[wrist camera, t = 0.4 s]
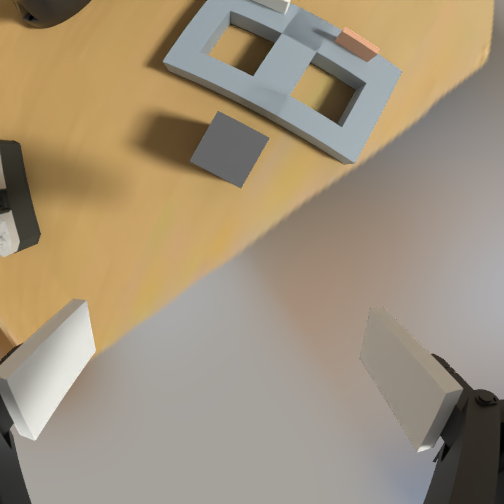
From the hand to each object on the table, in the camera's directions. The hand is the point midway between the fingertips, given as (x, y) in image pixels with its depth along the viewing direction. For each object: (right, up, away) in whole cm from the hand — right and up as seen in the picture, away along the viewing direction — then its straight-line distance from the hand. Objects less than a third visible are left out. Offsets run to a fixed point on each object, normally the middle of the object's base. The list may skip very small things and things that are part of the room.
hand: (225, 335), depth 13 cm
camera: (-33, +12, +21) cm, 41 cm away
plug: (-1, +15, +22) cm, 26 cm away
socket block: (+5, +26, +19) cm, 33 cm away
